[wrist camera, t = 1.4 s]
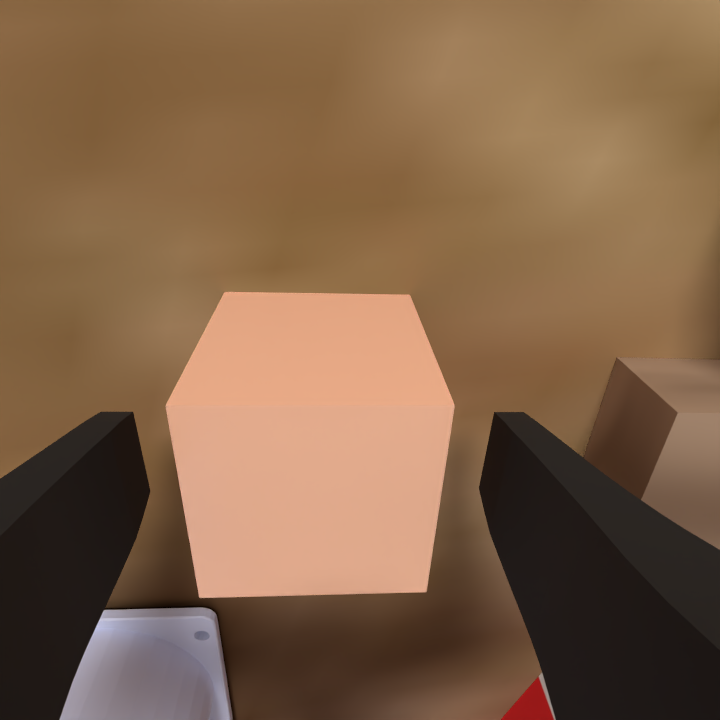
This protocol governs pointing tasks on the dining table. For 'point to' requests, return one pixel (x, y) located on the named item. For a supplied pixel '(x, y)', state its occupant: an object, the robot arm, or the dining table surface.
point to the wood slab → (664, 438)
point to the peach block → (311, 446)
